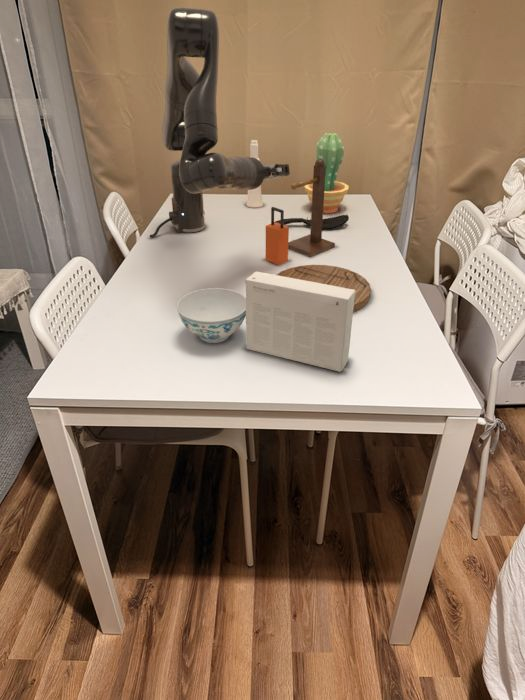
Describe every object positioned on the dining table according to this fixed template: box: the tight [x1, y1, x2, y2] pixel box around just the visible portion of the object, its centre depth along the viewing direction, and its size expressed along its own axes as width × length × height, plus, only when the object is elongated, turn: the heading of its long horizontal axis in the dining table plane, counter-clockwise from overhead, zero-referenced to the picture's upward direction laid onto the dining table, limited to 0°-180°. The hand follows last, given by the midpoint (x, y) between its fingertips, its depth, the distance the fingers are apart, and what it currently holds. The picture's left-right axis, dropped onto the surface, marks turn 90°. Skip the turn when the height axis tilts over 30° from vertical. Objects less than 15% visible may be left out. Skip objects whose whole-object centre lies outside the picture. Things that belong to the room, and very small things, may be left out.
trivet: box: [275, 264, 372, 313], centre depth 135 cm, size 25×25×2 cm
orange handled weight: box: [265, 206, 290, 266], centre depth 148 cm, size 4×5×15 cm
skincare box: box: [245, 271, 355, 373], centre depth 107 cm, size 21×5×16 cm, turn 65°
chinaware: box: [176, 287, 246, 344], centre depth 116 cm, size 15×15×8 cm
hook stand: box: [288, 159, 336, 258], centre depth 152 cm, size 14×10×25 cm
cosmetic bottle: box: [246, 139, 264, 209], centre depth 187 cm, size 6×6×22 cm
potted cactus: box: [304, 132, 350, 214], centre depth 182 cm, size 15×15×25 cm
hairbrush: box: [274, 213, 350, 231], centre depth 174 cm, size 8×4×25 cm
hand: (273, 173), depth 142 cm, fingers open, 8 cm apart
